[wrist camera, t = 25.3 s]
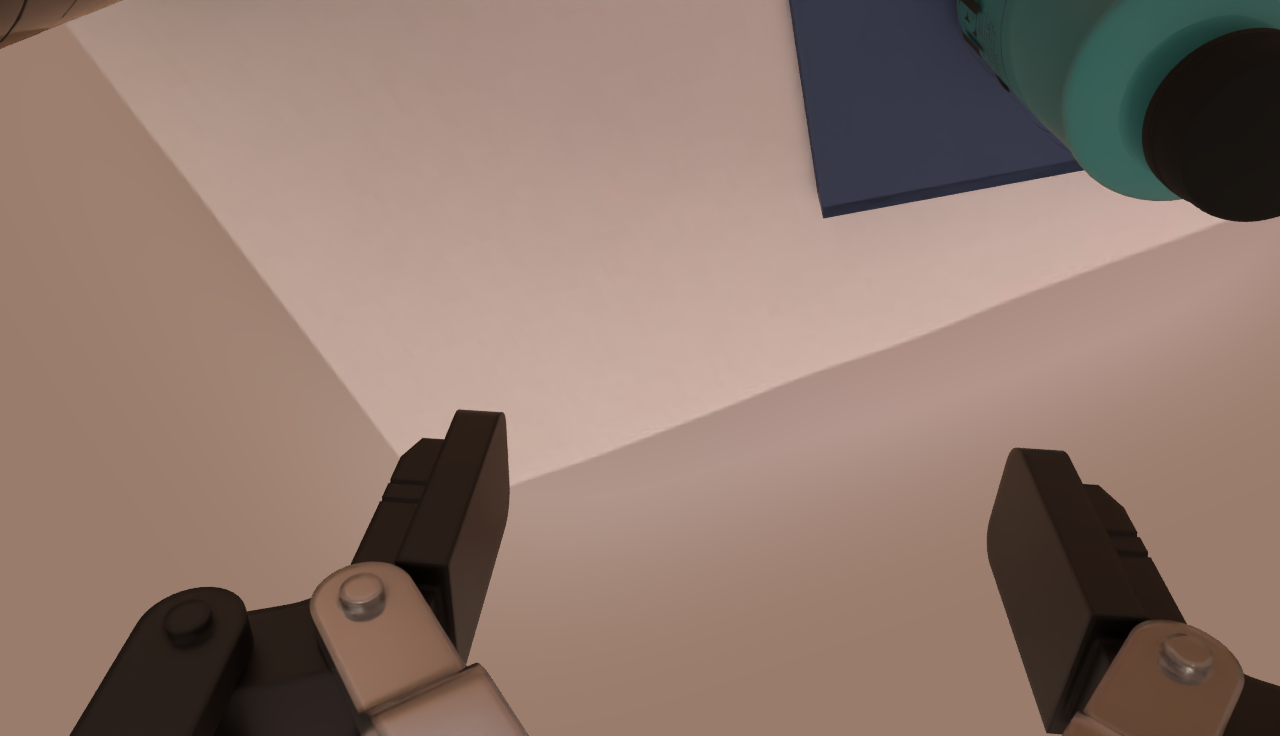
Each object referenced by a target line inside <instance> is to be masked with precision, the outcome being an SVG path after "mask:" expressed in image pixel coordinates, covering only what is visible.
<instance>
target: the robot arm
mask: <svg viewBox="0 0 1280 736" xmlns="http://www.w3.org/2000/svg"><path fill="white" fill-rule="evenodd" d="M120 1H122V0H0V49H1V48H3V47H6V46H8V45H11V44H13V43H16V42H19V41H21V40H24V39H26V38H29V37H32V36H34V35H37V34H39V33H41V32H43V31H45V30H48V29H50V28H53V27H56V26H58V25H61V24H63V23H66V22H68V21H71V20H74V19H76V18H79V17H81V16H84V15H86V14H89V13H92V12H94V11H97V10H99V9H102V8H104V7H107V6H110V5H112V4H115V3H117V2H120ZM509 490H510V488H509V468H508V449H507V430H506V419H505V415H504V413H503V412H488V411H473V410H457V411H456V413H455V415H454V418H453V420H452V422H451V425H450V427H449V430H448V432H447V434H446V437H445V439H430V438H422V439H421V440H420V441H419V442H418V443H416V444H415V445H414V446H413V447H412V448H410V449H409V450H408V451H407V452H406V453H405V454H403V455H402V456H401V457H400V460H399V462H398V464H397V466H396V468H395V470H394V472H393V475H392V477H391V482H390V483H388V485H387V488H386V490H385V492H384V494H383V496H382V501H380V503H379V505H378V507H377V509H376V511H375V513H374V516H373V518H372V520H371V522H370V524H369V526H368V528H367V531H366V533H365V535H364V537H363V539H362V541H361V543H360V546H359V548H358V550H357V552H356V554H355V556H354V558H353V561H352V563H351V565H349V566H346V567H344V568H342V569H339V570H337V571H336V572H334V573H332V574H331V575H329V576H328V577H327V578H325V579H324V580H323V581H322V582H321V583H320V584H319V585H318V586H317V588H316V589H315V591H314V593H313V595H312V597H311V598H310V599H307V600H304V601H301V602H297V603H293V604H288V605H283V606H277V607H271V608H265V609H259V610H253V611H248V612H247V611H246V607H245V605H244V603H243V601H242V600H241V599H240V597H239V596H237V595H236V594H234V593H233V592H231V591H229V590H226V589H222V588H216V587H199V588H193V589H188V590H185V591H181V592H179V593H176V594H173V595H171V596H169V597H167V598H165V599H163V600H161V601H160V602H158V603H157V604H155V605H154V606H153V607H151V608H150V609H149V610H148V611H147V612H146V613H145V614H144V615H143V616H142V617H141V618H140V620H139V621H138V623H137V624H136V626H135V628H134V629H133V631H132V632H131V634H130V636H129V637H128V639H127V641H126V643H125V644H124V646H123V647H122V649H121V651H120V652H119V654H118V656H117V658H116V659H115V661H114V662H113V664H112V666H111V667H110V669H109V671H108V672H107V674H106V676H105V677H104V679H103V681H102V682H101V684H100V686H99V688H98V689H97V691H96V692H95V694H94V696H93V698H92V699H91V701H90V702H89V704H88V706H87V707H86V709H85V711H84V712H83V714H82V716H81V717H80V719H79V721H78V722H77V724H76V726H75V727H74V729H73V731H72V732H71V734H70V736H528V734H527V732H526V731H525V729H524V728H523V726H522V725H521V723H520V721H519V720H518V718H517V717H516V715H515V714H514V712H513V711H512V709H511V707H510V706H509V704H508V703H507V701H506V700H505V698H504V697H503V695H502V693H501V692H500V690H499V689H498V687H497V686H496V684H495V683H494V681H493V679H492V678H491V676H490V675H489V674H488V672H487V671H486V669H485V668H484V667H483V666H482V665H480V664H479V663H474V664H472V665H470V666H468V667H467V666H466V663H467V659H468V656H469V652H470V648H471V645H472V641H473V638H474V635H475V631H476V628H477V624H478V621H479V617H480V614H481V610H482V607H483V603H484V600H485V596H486V593H487V589H488V585H489V582H490V579H491V575H492V571H493V568H494V565H495V561H496V558H497V554H498V551H499V547H500V544H501V540H502V537H503V533H504V529H505V526H506V521H507V516H508V509H509V494H510V492H509ZM987 552H988V559H989V563H990V566H991V569H992V572H993V575H994V578H995V580H996V584H997V587H998V590H999V593H1000V595H1001V599H1002V602H1003V605H1004V608H1005V611H1006V614H1007V617H1008V619H1009V623H1010V626H1011V628H1012V632H1013V634H1014V638H1015V640H1016V644H1017V647H1018V649H1019V652H1020V655H1021V658H1022V661H1023V664H1024V667H1025V670H1026V673H1027V676H1028V679H1029V682H1030V685H1031V688H1032V691H1033V694H1034V697H1035V700H1036V703H1037V706H1038V709H1039V712H1040V715H1041V718H1042V721H1043V724H1044V727H1045V730H1046V733H1052V734H1063V735H1062V736H1280V686H1277V685H1274V684H1271V683H1267V682H1264V681H1261V680H1258V679H1255V678H1252V677H1250V676H1248V675H1245V674H1244V673H1243V670H1242V667H1241V665H1240V664H1239V662H1238V660H1237V659H1236V658H1235V656H1234V655H1233V654H1232V653H1231V652H1230V651H1229V650H1228V649H1227V647H1225V646H1224V645H1223V644H1222V643H1221V642H1219V641H1218V640H1217V639H1215V638H1214V637H1212V636H1211V635H1209V634H1207V633H1206V632H1204V631H1202V630H1200V629H1198V628H1195V627H1193V626H1191V625H1187V623H1186V622H1185V620H1184V618H1183V616H1182V614H1181V612H1180V611H1179V609H1178V607H1177V605H1176V603H1175V602H1174V599H1173V598H1172V596H1171V594H1170V592H1169V590H1168V588H1167V587H1166V585H1165V583H1164V581H1163V580H1162V577H1161V576H1160V574H1159V572H1158V570H1157V568H1156V566H1155V564H1154V563H1153V561H1152V559H1151V558H1150V557H1148V551H1147V550H1146V548H1145V546H1144V544H1143V542H1142V540H1141V539H1140V537H1137V531H1136V529H1135V527H1134V526H1133V524H1132V522H1131V520H1130V518H1129V517H1128V515H1127V513H1126V511H1125V509H1124V507H1122V506H1121V505H1120V504H1119V503H1118V502H1117V501H1116V500H1114V499H1113V498H1112V497H1111V496H1110V495H1109V494H1108V493H1106V491H1105V490H1103V489H1102V488H1101V487H1100V486H1099V485H1089V484H1082V482H1081V479H1080V477H1079V476H1078V474H1077V472H1076V470H1075V468H1074V466H1073V464H1072V462H1071V460H1070V458H1069V456H1068V454H1067V453H1066V452H1064V451H1058V450H1042V449H1027V448H1013V449H1012V450H1011V452H1010V453H1009V456H1008V458H1007V461H1006V465H1005V468H1004V472H1003V475H1002V479H1001V482H1000V485H999V489H998V493H997V496H996V499H995V503H994V506H993V510H992V513H991V517H990V520H989V524H988V531H987Z"/></svg>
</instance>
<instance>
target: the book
mask: <svg viewBox="0 0 1280 736" xmlns="http://www.w3.org/2000/svg"><path fill="white" fill-rule="evenodd" d="M956 3H957V1H956V0H789V4H790V11H791V18H792V24H793V31H794V38H795V44H796V51H797V58H798V65H799V71H800V78H801V85H802V91H803V98H804V105H805V112H806V118H807V125H808V132H809V138H810V145H811V152H812V159H813V165H814V172H815V179H816V185H817V192H818V197H819V202H820V206H821V211H822V215H823V218H828V217H834V216H839V215H844V214H850V213H855V212H861V211H866V210H871V209H877V208H882V207H888V206H893V205H898V204H904V203H909V202H915V201H920V200H925V199H931V198H936V197H942V196H947V195H952V194H958V193H963V192H969V191H974V190H979V189H985V188H990V187H996V186H1001V185H1006V184H1012V183H1017V182H1023V181H1028V180H1033V179H1039V178H1044V177H1050V176H1055V175H1060V174H1066V173H1071V172H1077V171H1082V170H1084V169H1083V168H1082V167H1081V166H1080V165H1079V163H1078V162H1077V161H1076V159H1075V158H1074V156H1073V155H1072V153H1070V152H1071V151H1070V150H1069V149H1068V148H1067V147H1066V146H1065V145H1064V144H1063V143H1062V142H1061V141H1060V140H1059V139H1058V138H1057V137H1056V136H1055V135H1054V134H1053V133H1052V132H1051V131H1049V130H1048V129H1047V128H1046V127H1045V126H1044V125H1043V124H1042V123H1041V122H1040V121H1039V120H1038V119H1037V118H1036V117H1035V115H1034V114H1033V113H1032V112H1031V111H1030V110H1029V109H1028V108H1027V107H1026V106H1025V105H1024V104H1023V102H1022V101H1021V100H1020V99H1019V98H1018V97H1017V96H1016V95H1015V94H1013V92H1012V90H1011V89H1010V88H1009V87H1008V89H1009V91H1010V92H1007V90H1005V89H1004V88H1003V87H1002V86H1001V85H1000V84H999V83H1000V82H999V83H998V81H999V80H998V79H997V77H996V75H997V74H996V75H994V74H995V72H994V71H993V70H992V69H990V67H989V65H988V64H987V63H986V62H985V61H984V60H982V58H981V57H980V56H979V55H978V54H977V53H976V51H975V50H974V49H973V48H972V47H971V46H970V45H969V44H968V43H967V42H965V39H964V37H963V34H962V30H961V26H960V23H959V19H958V20H957V18H958V14H957V12H956V10H957V9H956V8H957V6H956V5H957V4H956ZM954 13H955V17H954ZM956 14H957V15H956ZM956 17H957V18H956ZM955 20H956V22H955ZM957 22H958V23H957ZM958 24H959V28H960V29H959V28H958ZM956 25H957V26H956ZM958 31H959V32H958ZM960 33H961V34H960ZM961 35H962V36H961ZM960 36H961V37H960ZM962 37H963V38H962ZM962 40H963V41H962ZM966 45H967V46H966ZM967 47H969V48H967ZM968 49H969V50H968ZM971 52H972V53H971ZM972 54H973V55H972ZM974 56H975V57H976V58H975V57H974ZM977 59H978V60H977ZM979 62H980V63H981V64H982V63H983V62H984V63H983V64H982V65H983V66H984V67H983V66H982V65H981V64H980V63H979ZM985 65H986V66H985ZM987 66H988V67H989V69H988V67H987ZM989 70H992V71H989ZM993 72H994V74H993ZM990 73H991V74H990ZM993 76H995V77H993ZM996 79H997V80H996ZM1005 91H1006V92H1005ZM1007 93H1008V94H1007ZM1009 95H1010V96H1011V97H1010V96H1009ZM1014 95H1015V96H1014ZM1015 97H1016V98H1015ZM1017 100H1018V101H1017ZM1020 105H1021V106H1020ZM1022 108H1023V109H1022ZM1024 111H1025V112H1024ZM1029 117H1030V118H1029ZM1031 120H1032V121H1033V122H1032V121H1031ZM1039 127H1040V128H1039ZM1041 128H1042V129H1041ZM1044 130H1046V131H1044ZM1042 131H1043V132H1044V133H1045V134H1044V133H1043V132H1042ZM1047 131H1049V132H1047ZM1050 132H1051V133H1050ZM1051 139H1052V140H1053V141H1052V140H1051ZM1056 143H1057V144H1056ZM1059 145H1060V146H1059ZM1061 146H1062V147H1061ZM1064 148H1065V149H1064ZM1067 150H1068V151H1067Z"/></svg>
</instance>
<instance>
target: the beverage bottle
mask: <svg viewBox="0 0 1280 736" xmlns="http://www.w3.org/2000/svg"><path fill="white" fill-rule="evenodd" d="M956 1H957V3H956V4H957V5H956V6H957V8H956V9H957V10H956V12H957V14H958V18H957V17H956V18H957V20H958V19H959V23H960V26H961V30H962V34H963V37H964V39H965V42H967V43H968V44H969V45H970V46H971V47H972V48H973V49H974V50H975V51H976V53H977V54H978V55H979V56H980V57H981V58H982V60H984V61H985V62H986V63H987V64H988V65H989V67H990V69H992V70H993V71H994V72H995V74H994V72H993V74H994V75H996V74H997V75H996V77H997V79H998V80H999V81H998V83H999V82H1000V83H999V84H1000V85H1001V86H1002V87H1003V88H1004V89H1005V90H1007V92H1010V91H1009V89H1008V87H1009V88H1010V89H1011V90H1012V92H1013V94H1015V95H1016V96H1017V97H1018V98H1019V99H1020V100H1021V101H1022V102H1023V104H1024V105H1025V106H1026V107H1027V108H1028V109H1029V110H1030V111H1031V112H1032V113H1033V114H1034V115H1035V117H1036V118H1037V119H1038V120H1039V121H1040V122H1041V123H1042V124H1043V125H1044V126H1045V127H1046V128H1047V129H1048V130H1049V131H1051V132H1052V133H1053V134H1054V135H1055V136H1056V137H1057V138H1058V139H1059V140H1060V141H1061V142H1062V143H1063V144H1064V145H1065V146H1066V147H1067V148H1068V149H1069V150H1070V151H1071V152H1070V153H1072V155H1073V156H1074V158H1075V159H1076V161H1077V162H1078V163H1079V165H1080V166H1081V167H1082V168H1083V169H1084V170H1085V171H1086V172H1087V173H1088V174H1089V175H1090V176H1091V177H1092V178H1093V179H1094V180H1096V181H1097V182H1099V183H1100V184H1101V185H1103V186H1105V187H1106V188H1108V189H1110V190H1112V191H1114V192H1117V193H1119V194H1122V195H1125V196H1128V197H1133V198H1137V199H1142V200H1152V201H1171V200H1179V199H1184V200H1186V201H1188V202H1191V203H1192V204H1193V205H1195V206H1196V207H1198V208H1199V209H1200V210H1202V211H1204V212H1206V213H1208V214H1210V215H1212V216H1215V217H1218V218H1221V219H1225V220H1230V221H1238V222H1253V221H1261V220H1267V219H1271V218H1275V217H1278V216H1280V0H956ZM957 14H956V15H957ZM954 17H955V13H954ZM955 22H956V20H955ZM957 23H958V22H957ZM956 26H957V25H956ZM958 28H959V24H958ZM959 29H960V28H959ZM958 32H959V31H958ZM960 34H961V33H960ZM961 36H962V35H961ZM961 36H960V37H961ZM963 37H962V38H963ZM962 41H963V40H962ZM966 46H967V45H966ZM967 48H969V47H967ZM968 50H969V49H968ZM971 53H972V52H971ZM972 55H973V54H972ZM974 57H975V56H974ZM975 58H976V57H975ZM977 60H978V59H977ZM979 63H980V62H979ZM983 63H984V62H983ZM983 63H982V64H983ZM980 64H981V63H980ZM982 64H981V65H982ZM982 66H983V65H982ZM985 66H986V65H985ZM983 67H984V66H983ZM987 67H988V66H987ZM989 67H988V69H989ZM992 70H989V71H992ZM990 74H991V73H990ZM993 77H995V76H993ZM997 79H996V80H997ZM1005 92H1006V91H1005ZM1007 94H1008V93H1007ZM1015 95H1014V96H1015ZM1009 96H1010V95H1009ZM1010 97H1011V96H1010ZM1015 98H1016V97H1015ZM1017 101H1018V100H1017ZM1020 106H1021V105H1020ZM1022 109H1023V108H1022ZM1024 112H1025V111H1024ZM1029 118H1030V117H1029ZM1031 121H1032V120H1031ZM1032 122H1033V121H1032ZM1039 128H1040V127H1039ZM1041 129H1042V128H1041ZM1044 131H1046V130H1044ZM1049 131H1047V132H1049ZM1042 132H1043V131H1042ZM1051 132H1050V133H1051ZM1043 133H1044V132H1043ZM1044 134H1045V133H1044ZM1051 140H1052V139H1051ZM1052 141H1053V140H1052ZM1056 144H1057V143H1056ZM1059 146H1060V145H1059ZM1061 147H1062V146H1061ZM1064 149H1065V148H1064ZM1067 151H1068V150H1067Z"/></svg>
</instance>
